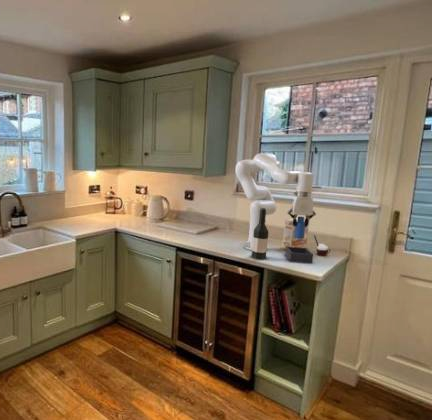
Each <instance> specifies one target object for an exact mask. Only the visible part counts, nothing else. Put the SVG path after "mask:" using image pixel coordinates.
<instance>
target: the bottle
mask: <svg viewBox="0 0 432 420" xmlns="http://www.w3.org/2000/svg"><path fill="white" fill-rule="evenodd" d="M297 218H298V221H297V223H296V226H295V232H294V237H295V238H299V239H303V238H304V233H305V224H306V223H305V222H304V219H305V217H304V216H297Z"/></svg>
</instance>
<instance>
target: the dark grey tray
mask: <svg viewBox="0 0 432 420" xmlns="http://www.w3.org/2000/svg"><path fill="white" fill-rule="evenodd" d="M284 255H285V256H286V257H287V259H288V260H289V261H290V262H297V263H308V264H312V263H313V259H314V254H313V253H312V252H311V251H310V250H309V249H308V248H307V247H306V248H297V247H286V249H285V252H284Z"/></svg>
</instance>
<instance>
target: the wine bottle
mask: <svg viewBox="0 0 432 420" xmlns="http://www.w3.org/2000/svg"><path fill="white" fill-rule="evenodd" d="M266 216H267V215H266V210H265V208H261V209H260V217H259V224H258V225H257V226H256V228H255V229H254V235H253V246H252V250H251V258H252V259H254V260H260V261H261V260H266V259H267V249H268V240H269V230H268V228H267V224H266V225H265V220H266Z"/></svg>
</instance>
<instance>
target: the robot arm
mask: <svg viewBox="0 0 432 420" xmlns="http://www.w3.org/2000/svg"><path fill="white" fill-rule="evenodd" d="M281 166H282V165H281V162H280V161H279V160H277V156H276V155H275V154H273V153H271V152H259V153H257V154H255V156H254V157H253V158H252V159H242V160H239V161H238V162H237V163H236V165H235V169H234V170H235V171H234V172H235V175H236V178H237V179H238V182H239V183H240V185H241V187H242V190H243V193H244V195H245V196H246V198H247V200H249V201H253V202H251V203H250V205H249V228H248V229H249V230H248V231H249V232H248V239H247V240H246V241H243V240H241V241H240V245H243V246H244V248H245V249H247V250H249V251H252V246H253V235H254V229H255V228H256V226H257V225H258V224H259V217H260V209H261V208H265V210H266V216H268V215H269V216H270V215H274V213H275V212H276V211H277V204H276V201H275V199H274V197H273V195H272V193H271V191H270V189H269V188H268V187H267V186H266V185H258V184H257V183H256V181H255V178H254V177H253V176H252V175H251V173H259V172H262V171H265V172H267V173H269V175H270V177H271V178H272V179H273V180H274V181H276V182H278V183H279V184H282V185H296V190H295V191H293V193H292V195H295V196H294V197H293V199H292V204H291V207H290V209H289V210H288V211H287V212H286V213H287V215H289V216H290V218H291V219H293V226H296V223H297V220H296V218H298V216H305V218H304V219H305V223H306V224H305V227H307V225H308V223H309V224H310V221H311V219H312V218H314V217H315V216H316V215H317V213H316V212H315V210H314V198H313V197H312V192H313V191H312V190H313V182H314V174H313V173H312V172H309V171H307V172H306V171H298V170H289V171H288V170H284V169H282V168H281ZM309 220H310V221H309ZM265 225H266V226H267V222H266V219H265Z"/></svg>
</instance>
